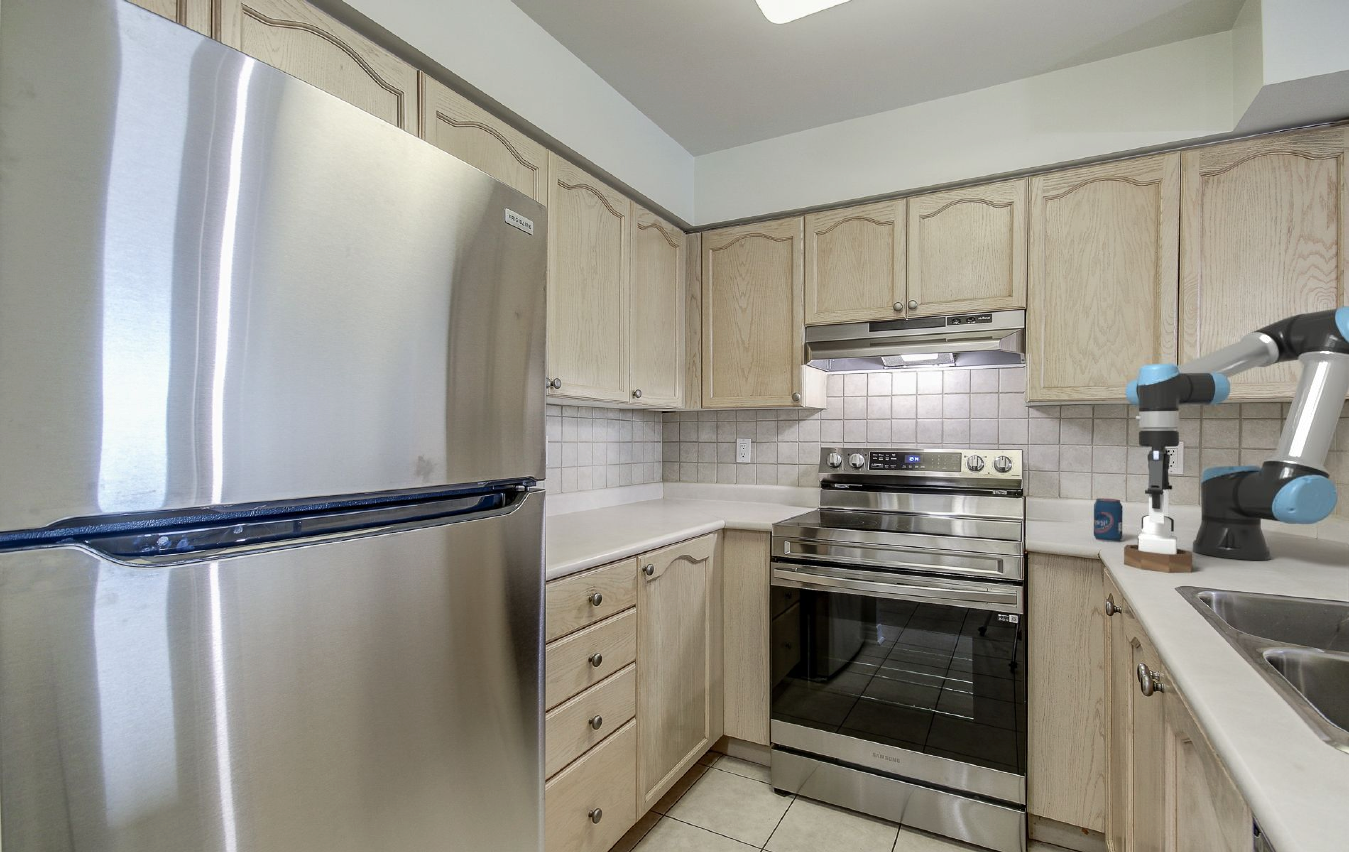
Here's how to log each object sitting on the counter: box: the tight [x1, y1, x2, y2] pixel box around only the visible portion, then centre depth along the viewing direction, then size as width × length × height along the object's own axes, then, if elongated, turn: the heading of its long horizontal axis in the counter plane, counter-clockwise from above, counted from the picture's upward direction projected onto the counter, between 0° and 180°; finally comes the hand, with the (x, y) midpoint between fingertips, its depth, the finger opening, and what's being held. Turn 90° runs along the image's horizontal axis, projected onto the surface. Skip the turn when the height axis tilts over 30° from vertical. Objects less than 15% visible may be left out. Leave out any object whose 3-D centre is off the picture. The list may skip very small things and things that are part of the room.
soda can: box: [1093, 497, 1124, 543], centre depth 184 cm, size 7×7×12 cm
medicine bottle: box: [1137, 514, 1178, 554], centre depth 148 cm, size 7×7×12 cm
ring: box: [1123, 544, 1193, 574], centre depth 148 cm, size 12×12×4 cm
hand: (1159, 519), depth 148 cm, fingers open, 13 cm apart
